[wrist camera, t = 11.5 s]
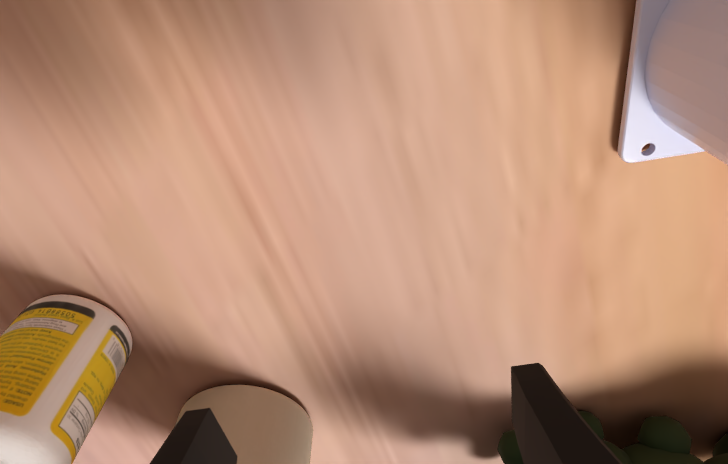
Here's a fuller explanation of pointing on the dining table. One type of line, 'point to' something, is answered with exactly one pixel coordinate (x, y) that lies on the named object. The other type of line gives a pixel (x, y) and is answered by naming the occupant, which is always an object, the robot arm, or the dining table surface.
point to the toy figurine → (637, 444)
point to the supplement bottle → (57, 377)
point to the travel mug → (258, 423)
